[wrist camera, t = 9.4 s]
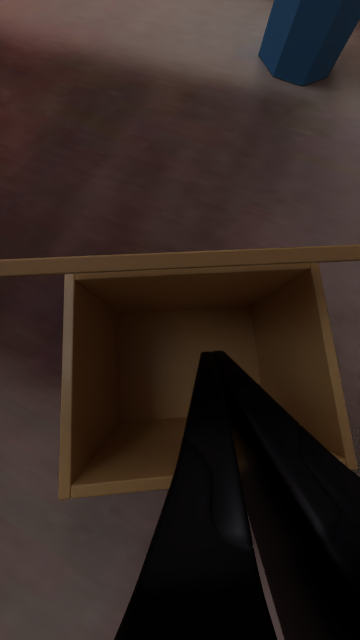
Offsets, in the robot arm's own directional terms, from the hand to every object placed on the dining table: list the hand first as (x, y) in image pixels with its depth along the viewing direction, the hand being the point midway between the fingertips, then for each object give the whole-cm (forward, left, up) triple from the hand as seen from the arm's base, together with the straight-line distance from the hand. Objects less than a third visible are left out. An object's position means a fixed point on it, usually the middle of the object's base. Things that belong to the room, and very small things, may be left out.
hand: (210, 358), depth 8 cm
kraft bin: (0, 0, -10) cm, 10 cm away
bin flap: (+2, +3, +1) cm, 4 cm away
